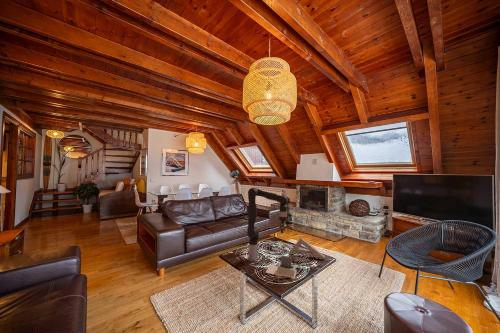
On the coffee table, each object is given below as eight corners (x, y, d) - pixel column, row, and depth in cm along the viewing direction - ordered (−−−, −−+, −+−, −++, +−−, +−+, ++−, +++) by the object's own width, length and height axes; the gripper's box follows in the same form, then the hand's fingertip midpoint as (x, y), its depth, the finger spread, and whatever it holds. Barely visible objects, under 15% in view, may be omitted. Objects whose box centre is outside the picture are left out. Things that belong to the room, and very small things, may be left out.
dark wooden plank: (291, 272, 178) (291, 257, 177) (291, 274, 175) (291, 258, 174) (281, 270, 181) (281, 255, 181) (281, 272, 178) (281, 257, 178)
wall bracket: (312, 273, 206) (288, 253, 214) (312, 271, 210) (289, 251, 218) (325, 258, 201) (300, 238, 209) (325, 256, 205) (301, 237, 213)
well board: (265, 273, 178) (265, 266, 178) (269, 265, 191) (269, 259, 191) (294, 279, 168) (294, 272, 168) (296, 270, 182) (296, 264, 181)
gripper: (285, 218, 184) (285, 234, 184) (288, 214, 197) (288, 229, 198) (277, 217, 187) (277, 233, 187) (280, 213, 200) (280, 228, 200)
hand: (282, 231), depth 192 cm, fingers open, 8 cm apart
